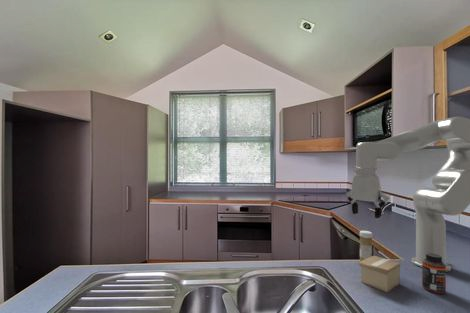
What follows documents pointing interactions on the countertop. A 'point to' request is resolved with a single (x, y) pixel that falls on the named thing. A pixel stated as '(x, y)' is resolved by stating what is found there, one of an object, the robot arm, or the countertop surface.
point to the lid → (379, 264)
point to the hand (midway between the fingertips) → (366, 215)
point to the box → (380, 278)
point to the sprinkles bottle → (365, 245)
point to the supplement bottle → (434, 274)
